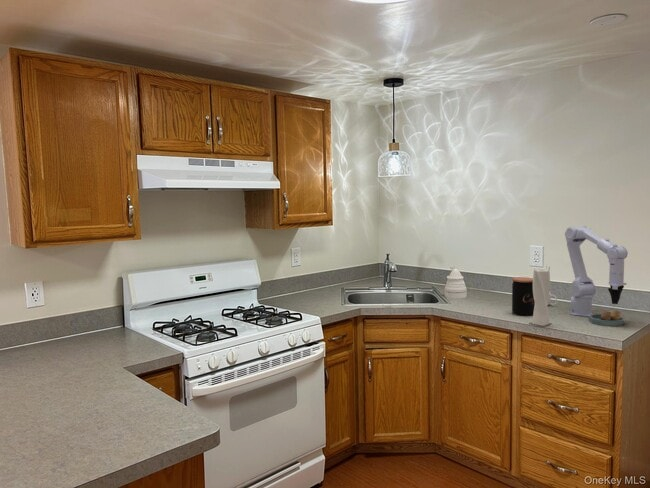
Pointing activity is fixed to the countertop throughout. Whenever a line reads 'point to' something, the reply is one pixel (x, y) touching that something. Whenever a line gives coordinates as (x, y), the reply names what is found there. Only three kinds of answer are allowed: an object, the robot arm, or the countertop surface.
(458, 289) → the honey pot
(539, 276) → the skyscraper
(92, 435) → the countertop surface
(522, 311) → the coffee jar
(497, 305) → the countertop surface
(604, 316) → the walnut bead
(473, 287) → the countertop surface
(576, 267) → the robot arm
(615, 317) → the oak bead
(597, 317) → the ring dish
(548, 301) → the mug
